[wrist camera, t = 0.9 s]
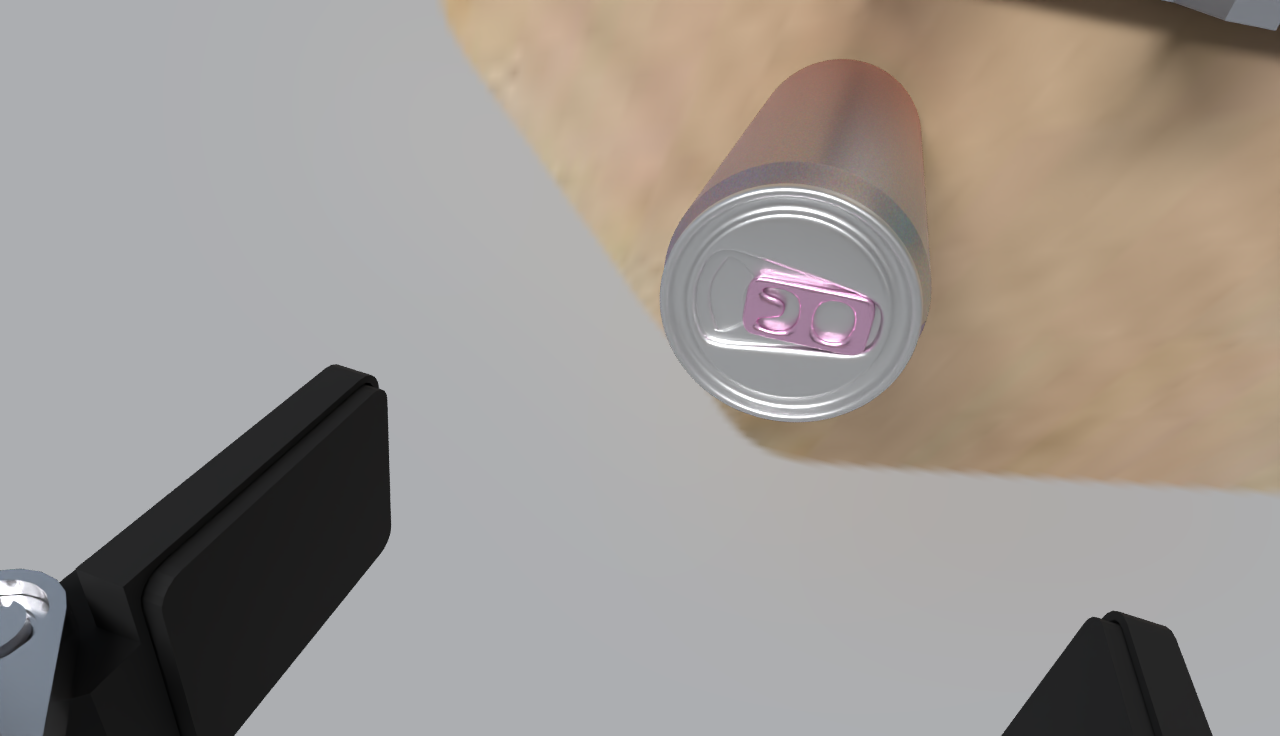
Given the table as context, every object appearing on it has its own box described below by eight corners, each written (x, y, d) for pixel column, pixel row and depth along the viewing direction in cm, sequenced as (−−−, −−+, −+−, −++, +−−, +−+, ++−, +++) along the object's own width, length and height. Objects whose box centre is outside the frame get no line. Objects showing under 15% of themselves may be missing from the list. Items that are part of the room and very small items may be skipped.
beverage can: (896, 230, 30) (889, 458, 17) (745, 202, 31) (638, 396, 19) (942, 69, 27) (973, 208, 14) (772, 44, 28) (665, 153, 15)
